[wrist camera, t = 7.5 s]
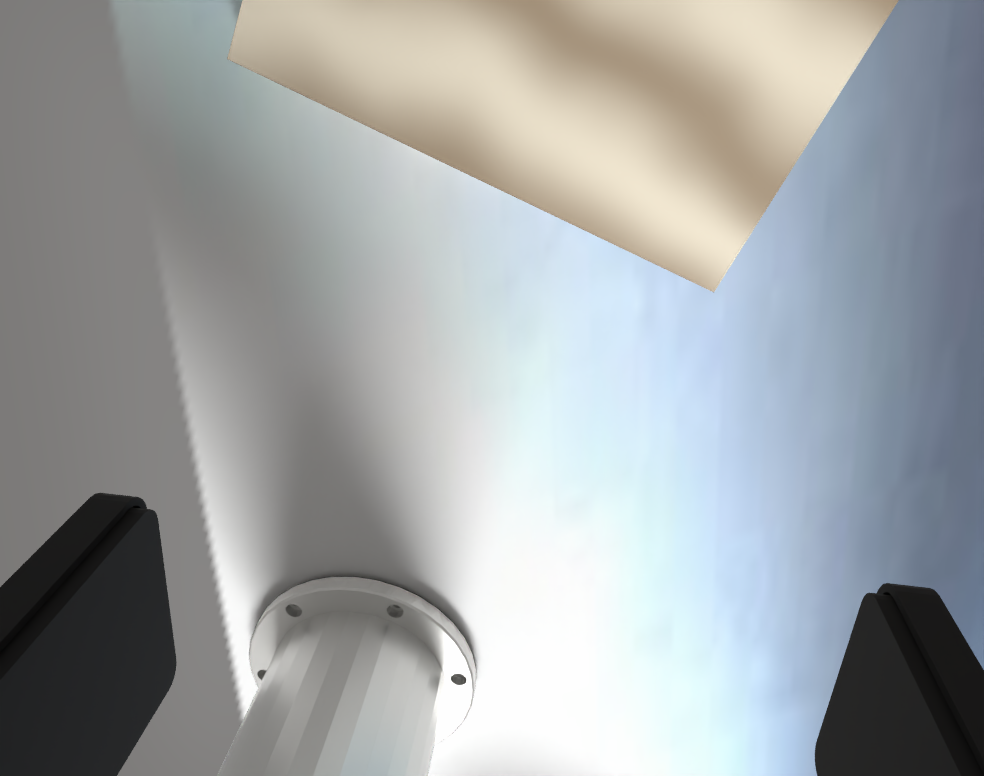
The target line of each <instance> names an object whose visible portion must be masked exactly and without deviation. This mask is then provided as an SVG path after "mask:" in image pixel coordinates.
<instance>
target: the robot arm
mask: <svg viewBox="0 0 984 776" xmlns="http://www.w3.org/2000/svg"><path fill="white" fill-rule="evenodd" d="M249 659H250V666H251V671H252V674H253V676H254V679H255V682H256V684H257V686H258V690H257V692H256V694H255V697H254V699H253V701H252V703H251V705H250V707H249V709H248V711H247V713H246V716H245V718H244V720H243V722H242V724H241V726H240V728H239V731H238V733H237V735H236V737H235V739H234V741H233V743H232V746H231V748H230V750H229V752H228V754H227V756H226V758H225V760H224V762H223V764H222V766H221V769H220V771H219V773H218V775H217V776H428V771H429V767H430V762H431V758H432V753H433V748H434V744H436V743H438V742H440V741H442V740H444V739H445V738H446V737H448V736H449V735H450V734H452V733H453V732H454V731H455V730H456V729H457V728H458V727H459V726H460V725H461V723H462V722H463V721H464V720H465V718H466V716H467V714H468V712H469V710H470V708H471V706H472V701H473V696H474V692H475V687H476V668H475V663H474V659H473V654H472V652H471V650H470V648H469V646H468V644H467V642H466V640H465V638H464V637H463V635H462V634H461V633H460V631H459V630H458V629H457V627H456V626H455V625H454V623H453V622H452V621H450V620H449V619H448V618H447V617H446V616H445V615H444V614H443V613H442V612H441V611H440V610H439V609H437V608H436V607H434V606H433V605H431V604H430V603H428V602H427V601H425V600H424V599H422V598H421V597H419V596H417V595H415V594H413V593H411V592H409V591H406V590H404V589H402V588H400V587H397V586H394V585H391V584H387V583H384V582H381V581H377V580H371V579H365V578H358V577H329V578H323V579H317V580H311V581H308V582H306V583H303V584H300V585H297V586H294V587H292V588H291V589H289V590H288V591H286V592H284V593H283V594H281V595H279V596H278V597H277V598H276V599H275V600H274V601H273V602H272V603H271V604H270V605H269V606H268V607H267V608H266V610H265V611H264V613H263V615H262V616H261V618H260V620H259V622H258V623H257V625H256V628H255V630H254V632H253V635H252V637H251V641H250V649H249ZM175 671H176V654H175V646H174V639H173V632H172V623H171V616H170V608H169V600H168V593H167V585H166V578H165V570H164V563H163V554H162V547H161V539H160V532H159V524H158V518H157V515H156V513H155V511H153V510H150V509H147V507H146V504H145V502H144V501H143V499H141V498H139V497H132V496H123V495H114V494H105V493H97V494H94V495H93V496H92V497H90V498H89V499H88V500H87V501H86V502H85V503H84V504H83V505H82V506H81V507H80V508H79V509H78V510H77V511H76V512H75V513H74V514H73V515H72V516H71V517H70V518H69V519H68V520H67V521H66V522H65V523H64V524H63V525H62V526H61V527H60V528H59V529H58V530H57V531H56V532H55V533H54V534H53V535H52V536H51V537H50V538H49V539H48V540H47V541H46V542H45V543H44V544H43V545H42V546H41V547H40V548H39V549H38V550H37V551H36V552H35V553H34V554H33V555H32V556H31V557H30V558H29V559H28V560H27V561H26V562H25V563H24V564H23V565H22V566H21V567H20V568H19V569H18V570H17V571H16V572H15V573H14V574H13V575H12V576H11V577H10V578H9V579H8V580H7V581H6V582H5V583H4V584H3V585H2V586H1V587H0V776H117V775H118V773H119V771H120V770H121V768H122V766H123V765H124V763H125V761H126V760H127V758H128V756H129V755H130V753H131V751H132V750H133V748H134V747H135V745H136V743H137V742H138V740H139V738H140V737H141V735H142V733H143V732H144V730H145V728H146V727H147V725H148V723H149V722H150V720H151V719H152V717H153V715H154V714H155V712H156V710H157V709H158V707H159V705H160V704H161V702H162V700H163V699H164V697H165V695H166V694H167V692H168V691H169V688H170V687H171V685H172V681H173V679H174V675H175ZM815 765H816V771H817V776H984V670H983V669H982V667H981V665H980V663H979V662H978V660H977V658H976V657H975V655H974V653H973V652H972V650H971V648H970V647H969V645H968V643H967V642H966V640H965V638H964V636H963V635H962V633H961V631H960V630H959V628H958V626H957V625H956V623H955V621H954V620H953V618H952V616H951V614H950V613H949V611H948V609H947V608H946V606H945V604H944V603H943V601H942V599H941V598H940V596H939V595H938V593H937V592H936V591H935V590H933V589H931V588H924V587H915V586H907V585H898V584H889V583H886V584H883V585H882V586H881V587H880V588H879V590H878V592H877V594H876V593H867V594H866V595H865V596H864V598H863V600H862V602H861V606H860V609H859V612H858V615H857V618H856V621H855V624H854V627H853V630H852V633H851V637H850V640H849V643H848V646H847V649H846V652H845V655H844V658H843V661H842V664H841V668H840V671H839V674H838V677H837V680H836V683H835V686H834V689H833V692H832V695H831V699H830V702H829V705H828V708H827V711H826V714H825V717H824V720H823V723H822V726H821V730H820V733H819V736H818V739H817V742H816V748H815Z"/></svg>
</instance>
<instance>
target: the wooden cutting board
mask: <svg viewBox="0 0 984 776" xmlns="http://www.w3.org/2000/svg"><path fill="white" fill-rule="evenodd" d="M897 2H898V0H242V4H241V8H240V12H239V15H238V19H237V23H236V27H235V31H234V35H233V38H232V42H231V46H230V50H229V54H228V58H227V59H228V60H230V61H232V62H234V63H236V64H239V65H241V66H243V67H245V68H247V69H249V70H251V71H253V72H255V73H257V74H259V75H262V76H264V77H266V78H268V79H270V80H272V81H274V82H276V83H278V84H280V85H282V86H284V87H287V88H289V89H291V90H293V91H295V92H297V93H299V94H301V95H303V96H305V97H307V98H310V99H312V100H314V101H316V102H318V103H320V104H322V105H324V106H326V107H328V108H330V109H332V110H335V111H337V112H339V113H341V114H343V115H345V116H347V117H349V118H351V119H353V120H355V121H358V122H360V123H362V124H364V125H366V126H368V127H370V128H372V129H374V130H376V131H378V132H380V133H383V134H385V135H387V136H389V137H391V138H393V139H395V140H397V141H399V142H401V143H403V144H406V145H408V146H410V147H412V148H414V149H416V150H418V151H420V152H422V153H424V154H426V155H428V156H431V157H433V158H435V159H437V160H439V161H441V162H443V163H445V164H447V165H449V166H451V167H454V168H456V169H458V170H460V171H462V172H464V173H466V174H468V175H470V176H472V177H474V178H476V179H479V180H481V181H483V182H485V183H487V184H489V185H491V186H493V187H495V188H497V189H499V190H502V191H504V192H506V193H508V194H510V195H512V196H514V197H516V198H518V199H520V200H522V201H524V202H527V203H529V204H531V205H533V206H535V207H537V208H539V209H541V210H543V211H545V212H547V213H550V214H552V215H554V216H556V217H558V218H560V219H562V220H564V221H566V222H568V223H570V224H572V225H575V226H577V227H579V228H581V229H583V230H585V231H587V232H589V233H591V234H593V235H595V236H597V237H600V238H602V239H604V240H606V241H608V242H610V243H612V244H614V245H616V246H618V247H620V248H623V249H625V250H627V251H629V252H631V253H633V254H635V255H637V256H639V257H641V258H643V259H645V260H648V261H650V262H652V263H654V264H656V265H658V266H660V267H662V268H664V269H666V270H668V271H671V272H673V273H675V274H677V275H679V276H681V277H683V278H685V279H687V280H689V281H691V282H693V283H696V284H698V285H700V286H702V287H704V288H706V289H708V290H710V291H712V292H714V291H715V290H716V288H717V286H718V285H719V283H720V282H721V280H722V279H723V277H724V275H725V274H726V272H727V271H728V269H729V267H730V266H731V264H732V263H733V261H734V260H735V258H736V256H737V255H738V253H739V252H740V250H741V249H742V247H743V245H744V244H745V242H746V241H747V239H748V237H749V236H750V234H751V233H752V231H753V230H754V228H755V226H756V225H757V223H758V222H759V220H760V218H761V217H762V215H763V214H764V212H765V211H766V209H767V207H768V206H769V204H770V203H771V201H772V200H773V198H774V196H775V195H776V193H777V192H778V190H779V188H780V187H781V185H782V184H783V182H784V181H785V179H786V177H787V176H788V174H789V173H790V171H791V169H792V168H793V166H794V165H795V163H796V162H797V160H798V158H799V157H800V155H801V154H802V152H803V151H804V149H805V147H806V146H807V144H808V143H809V141H810V139H811V138H812V136H813V135H814V133H815V132H816V130H817V128H818V127H819V125H820V124H821V122H822V120H823V119H824V117H825V116H826V114H827V113H828V111H829V109H830V108H831V106H832V105H833V103H834V102H835V100H836V98H837V97H838V95H839V94H840V92H841V90H842V89H843V87H844V86H845V84H846V83H847V81H848V79H849V78H850V76H851V75H852V73H853V71H854V70H855V68H856V67H857V65H858V64H859V62H860V60H861V59H862V57H863V56H864V54H865V53H866V51H867V49H868V48H869V46H870V45H871V43H872V41H873V40H874V38H875V37H876V35H877V34H878V32H879V30H880V29H881V27H882V26H883V24H884V22H885V21H886V19H887V18H888V16H889V15H890V13H891V11H892V10H893V8H894V7H895V5H896V4H897Z"/></svg>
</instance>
